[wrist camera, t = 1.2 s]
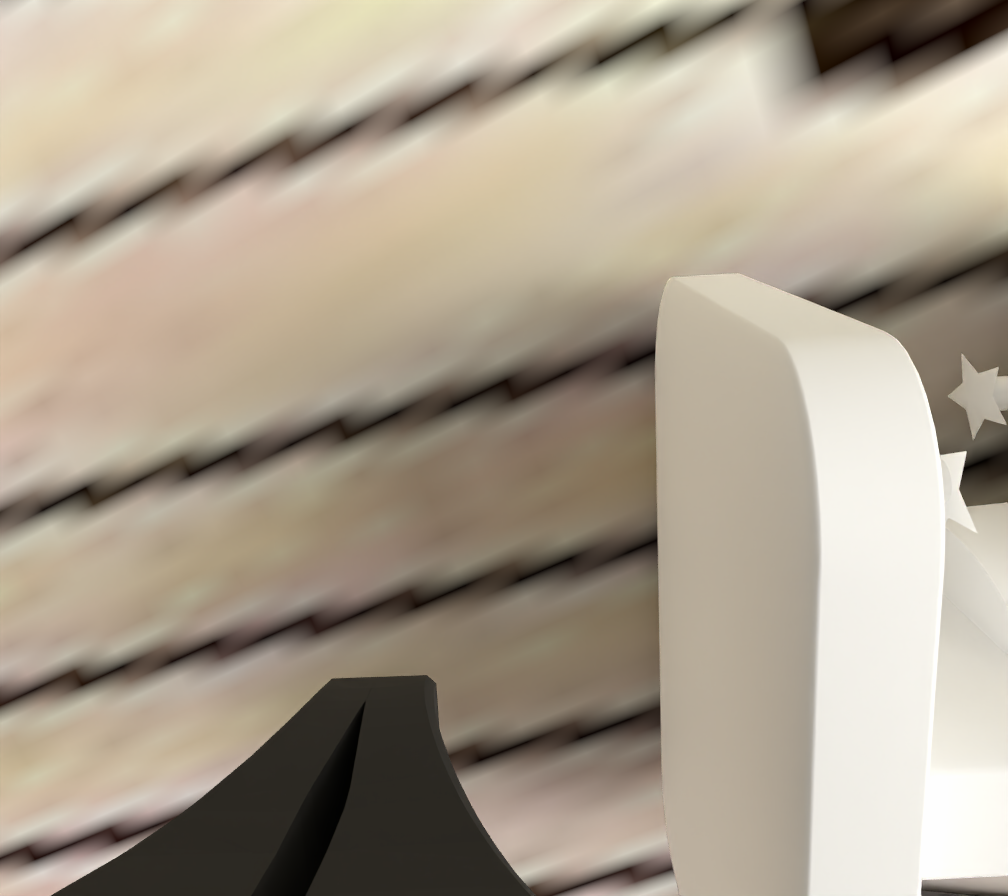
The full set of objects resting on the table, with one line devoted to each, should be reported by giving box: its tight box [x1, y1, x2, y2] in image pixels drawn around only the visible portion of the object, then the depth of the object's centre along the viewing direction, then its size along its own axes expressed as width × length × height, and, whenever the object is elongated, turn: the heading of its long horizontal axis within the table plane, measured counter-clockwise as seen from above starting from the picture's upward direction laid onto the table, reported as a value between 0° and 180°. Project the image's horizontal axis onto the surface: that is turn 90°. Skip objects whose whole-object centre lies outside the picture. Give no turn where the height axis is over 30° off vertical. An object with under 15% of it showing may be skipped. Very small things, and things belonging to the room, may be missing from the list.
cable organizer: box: [655, 273, 1008, 896], centre depth 17 cm, size 15×11×12 cm
